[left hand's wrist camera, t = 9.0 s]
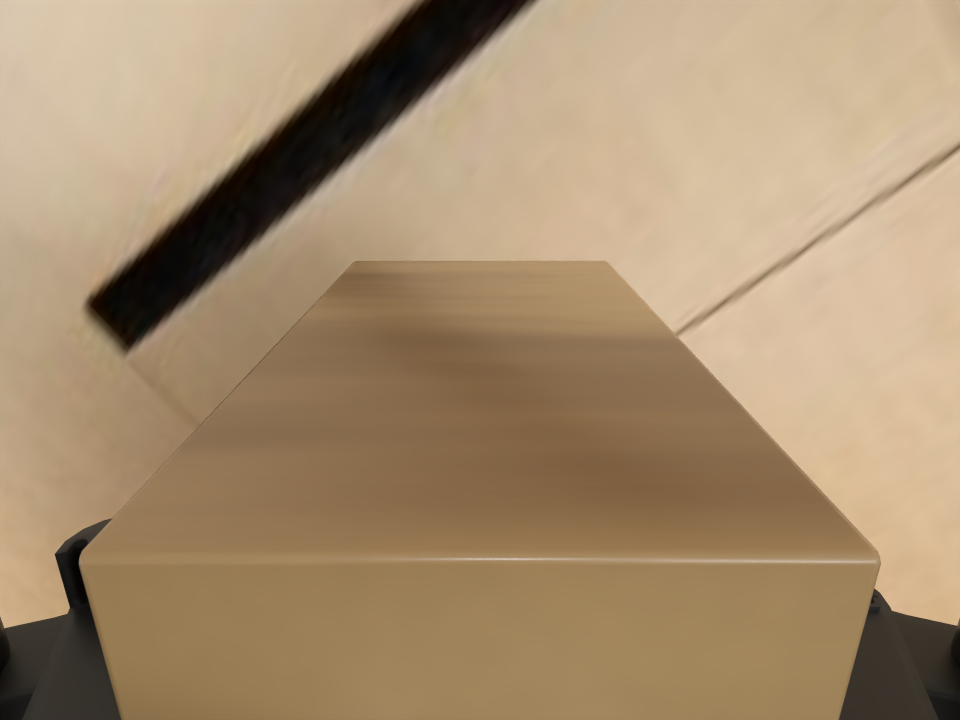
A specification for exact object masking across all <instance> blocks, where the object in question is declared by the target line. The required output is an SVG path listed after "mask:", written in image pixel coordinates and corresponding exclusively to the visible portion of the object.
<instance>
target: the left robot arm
mask: <svg viewBox="0 0 960 720" xmlns="http://www.w3.org/2000/svg"><path fill="white" fill-rule="evenodd" d="M112 519H113V518H112ZM112 519H108V520H104V521H102V522H99V523H97V524H95V525H92V526H90V527H87V528H85V529H83V530H81V531H80V532H78V533H77V534H75V535H74V536H73V537H71V538H70V539H68V540H67V541H65V542H64V544H63V545H62V546H61V547H60V548H59V550H58V551H57V552H56V553H55V557H56V560H57V564H58V567H59V571H60V574H61V578H62V581H63V584H64V588H65V591H66V595H67V598H68V602H69V605H70V609H69V612H68V614H65V615H62V616H58V617H55V618H50V619H45V620H41V621H36V622H32V623H27V624H22V625H18V626H13V627H9V628H4V626H3V623H2V620H1V617H0V720H121V717H120V713H119V710H118V706H117V702H116V699H115V695H114V691H113V688H112V684H111V680H110V677H109V673H108V669H107V666H106V662H105V658H104V655H103V651H102V648H101V644H100V640H99V637H98V633H97V629H96V626H95V622H94V618H93V615H92V611H91V607H90V604H89V600H88V596H87V593H86V589H85V585H84V582H83V578H82V574H81V571H80V567H79V558H80V555H81V552H82V550H83V549H84V548H85V547H86V546H87V545H88V544H89V543H90V542H91V541H92V540H93V539H94V538H95V537H96V536H97V535H98V533H99V532H100V531H101V530H102V529H103V528H104V527H105V526H106V525H107V524H108V523H109V522H110V521H111V520H112ZM839 720H960V619H959V622H958V625H957V626H955V625H950V624H946V623H941V622H937V621H932V620H927V619H923V618H918V617H913V616H909V615H905V614H901V613H898V612H894V611H892V610H891V608H890V606H889V605H888V603H887V602H886V601H885V599H884V598H883V597H882V595H881V594H880V593H879V592H878V591H877V590H876V589H874V591H873V595H872V598H871V602H870V606H869V610H868V613H867V617H866V621H865V624H864V628H863V632H862V635H861V639H860V643H859V647H858V650H857V654H856V658H855V661H854V665H853V669H852V673H851V676H850V680H849V684H848V687H847V691H846V695H845V699H844V702H843V706H842V710H841V713H840V717H839Z"/></svg>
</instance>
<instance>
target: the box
mask: <svg viewBox="0 0 960 720" xmlns="http://www.w3.org/2000/svg"><path fill="white" fill-rule="evenodd" d="M880 565H881V562H880V556H879V554H878V551H877V550H876V549H875V548H874V547H873V546H872V545H871V543H870V542H869V541H868V540H867V539H866V538H865V537H864V536H863V535H862V534H861V533H860V532H859V531H858V530H857V528H856V527H855V526H854V525H853V524H852V523H851V522H850V521H849V520H848V519H847V518H846V517H845V516H844V515H843V513H842V512H841V511H840V510H839V509H838V508H837V507H836V506H835V505H834V504H833V503H832V502H831V501H830V500H829V499H828V497H827V496H826V495H825V494H824V493H823V492H822V491H821V490H820V489H819V488H818V487H817V486H816V485H815V484H814V482H813V481H812V480H811V479H810V478H809V477H808V476H807V475H806V474H805V473H804V472H803V471H802V470H801V469H800V467H799V466H798V465H797V464H796V463H795V462H794V461H793V460H792V459H791V458H790V457H789V456H788V455H787V454H786V452H785V451H784V450H783V449H782V448H781V447H780V446H779V445H778V444H777V443H776V442H775V441H774V440H773V439H772V438H771V436H770V435H769V434H768V433H767V432H766V431H765V430H764V429H763V428H762V427H761V426H760V425H759V424H758V423H757V421H756V420H755V419H754V418H753V417H752V416H751V415H750V414H749V413H748V412H747V411H746V410H745V409H744V408H743V406H742V405H741V404H740V403H739V402H738V401H737V400H736V399H735V398H734V397H733V396H732V395H731V394H730V393H729V392H728V390H727V389H726V388H725V387H724V386H723V385H722V384H721V383H720V382H719V381H718V380H717V379H716V378H715V377H714V375H713V374H712V373H711V372H710V371H709V370H708V369H707V368H706V367H705V366H704V365H703V364H702V363H701V362H700V360H699V359H698V358H697V357H696V356H695V355H694V354H693V353H692V352H691V351H690V350H689V349H688V348H687V347H686V346H685V344H684V343H683V342H682V341H681V340H680V339H679V338H678V337H677V336H676V335H675V334H674V333H673V332H672V331H671V329H670V328H669V327H668V326H667V325H666V324H665V323H664V322H663V321H662V320H661V319H660V318H659V317H658V316H657V314H656V313H655V312H654V311H653V310H652V309H651V308H650V307H649V306H648V305H647V304H646V303H645V302H644V301H643V300H642V298H641V297H640V296H639V295H638V294H637V293H636V292H635V291H634V290H633V289H632V288H631V287H630V286H629V285H628V283H627V282H626V281H625V280H624V279H623V278H622V277H621V276H620V275H619V274H618V273H617V272H616V271H615V270H614V268H613V267H612V266H611V265H610V264H609V263H608V262H606V261H356V262H354V263H353V264H352V265H351V266H350V267H349V268H348V269H347V270H346V271H345V272H344V273H343V274H342V275H341V276H340V277H339V278H338V280H337V281H336V282H335V283H334V284H333V285H332V286H331V287H330V288H329V289H328V290H327V291H326V292H325V293H324V294H323V295H322V297H321V298H320V299H319V300H318V301H317V302H316V303H315V304H314V305H313V306H312V307H311V308H310V309H309V310H308V311H307V312H306V314H305V315H304V316H303V317H302V318H301V319H300V320H299V321H298V322H297V323H296V324H295V325H294V326H293V327H292V328H291V329H290V331H289V332H288V333H287V334H286V335H285V336H284V337H283V338H282V339H281V340H280V341H279V342H278V343H277V344H276V345H275V346H274V348H273V349H272V350H271V351H270V352H269V353H268V354H267V355H266V356H265V357H264V358H263V359H262V360H261V361H260V362H259V363H258V365H257V366H256V367H255V368H254V369H253V370H252V371H251V372H250V373H249V374H248V375H247V376H246V377H245V378H244V379H243V380H242V382H241V383H240V384H239V385H238V386H237V387H236V388H235V389H234V390H233V391H232V392H231V393H230V394H229V395H228V396H227V397H226V399H225V400H224V401H223V402H222V403H221V404H220V405H219V406H218V407H217V408H216V409H215V410H214V411H213V412H212V413H211V414H210V416H209V417H208V418H207V419H206V420H205V421H204V422H203V423H202V424H201V425H200V426H199V427H198V428H197V429H196V430H195V431H194V433H193V434H192V435H191V436H190V437H189V438H188V439H187V440H186V441H185V442H184V443H183V444H182V445H181V446H180V447H179V448H178V450H177V451H176V452H175V453H174V454H173V455H172V456H171V457H170V458H169V459H168V460H167V461H166V462H165V463H164V464H163V465H162V467H161V468H160V469H159V470H158V471H157V472H156V473H155V474H154V475H153V476H152V477H151V478H150V479H149V480H148V481H147V482H146V484H145V485H144V486H143V487H142V488H141V489H140V490H139V491H138V492H137V493H136V494H135V495H134V496H133V497H132V498H131V499H130V501H129V502H128V503H127V504H126V505H125V506H124V507H123V508H122V509H121V510H120V511H119V512H118V513H117V514H116V515H115V516H114V518H113V519H112V520H111V521H110V522H109V523H108V524H107V525H106V526H105V527H104V528H103V529H102V530H101V531H100V532H99V533H98V535H97V536H96V537H95V538H94V539H93V540H92V541H91V542H90V543H89V544H88V545H87V546H86V547H85V548H84V549H83V550H82V552H81V555H80V558H79V567H80V571H81V574H82V578H83V582H84V585H85V589H86V593H87V596H88V600H89V604H90V607H91V611H92V615H93V618H94V622H95V626H96V629H97V633H98V637H99V640H100V644H101V648H102V651H103V655H104V658H105V662H106V666H107V669H108V673H109V677H110V680H111V684H112V688H113V691H114V695H115V699H116V702H117V706H118V710H119V713H120V717H121V720H839V717H840V713H841V710H842V706H843V702H844V699H845V695H846V691H847V687H848V684H849V680H850V676H851V673H852V669H853V665H854V661H855V658H856V654H857V650H858V647H859V643H860V639H861V635H862V632H863V628H864V624H865V621H866V617H867V613H868V610H869V606H870V602H871V598H872V595H873V591H874V587H875V584H876V580H877V576H878V572H879V569H880Z"/></svg>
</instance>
